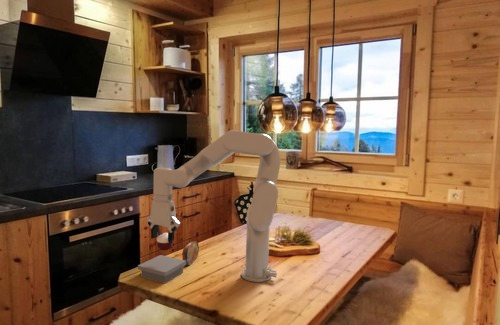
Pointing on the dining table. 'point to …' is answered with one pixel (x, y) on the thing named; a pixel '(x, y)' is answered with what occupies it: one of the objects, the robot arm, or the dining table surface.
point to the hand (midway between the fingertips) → (162, 239)
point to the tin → (190, 252)
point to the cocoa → (163, 240)
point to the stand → (162, 268)
